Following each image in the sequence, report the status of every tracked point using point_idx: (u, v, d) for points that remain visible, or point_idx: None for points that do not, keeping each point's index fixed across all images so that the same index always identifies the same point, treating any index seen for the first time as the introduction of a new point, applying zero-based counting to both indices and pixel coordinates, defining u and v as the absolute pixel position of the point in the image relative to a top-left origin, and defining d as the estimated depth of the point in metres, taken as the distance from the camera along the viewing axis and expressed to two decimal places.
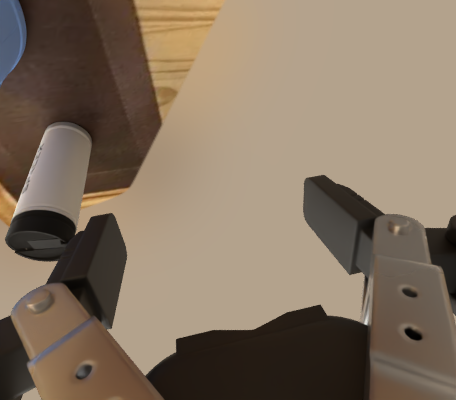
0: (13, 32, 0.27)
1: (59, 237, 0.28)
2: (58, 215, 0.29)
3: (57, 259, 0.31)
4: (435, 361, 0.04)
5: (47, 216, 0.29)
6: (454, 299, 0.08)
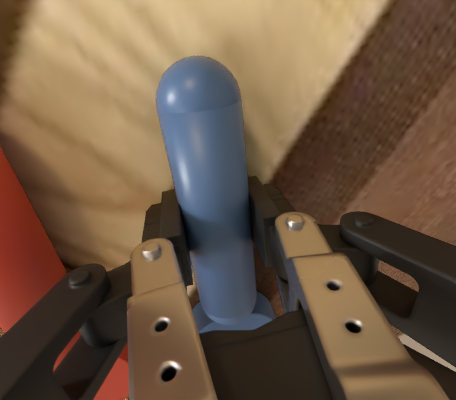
0: None
1: None
2: None
3: None
4: (380, 347, 0.04)
5: None
6: None
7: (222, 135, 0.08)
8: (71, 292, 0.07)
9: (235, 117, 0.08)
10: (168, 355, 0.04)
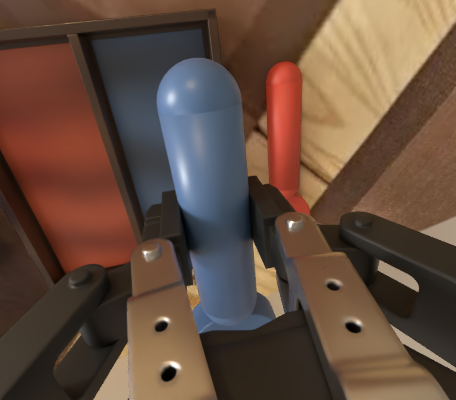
0: None
1: None
2: None
3: None
4: (379, 346, 0.04)
5: None
6: None
7: (223, 137, 0.08)
8: (71, 292, 0.07)
9: (235, 119, 0.09)
10: (168, 355, 0.04)
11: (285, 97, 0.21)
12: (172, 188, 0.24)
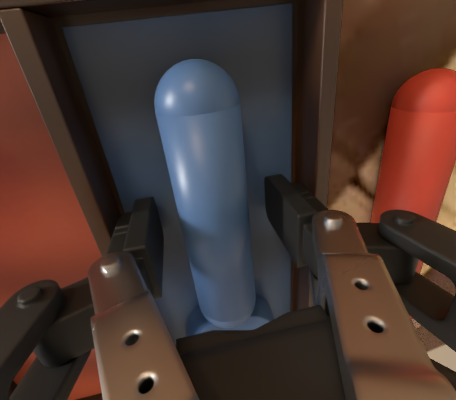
0: None
1: None
2: None
3: None
4: (400, 350, 0.04)
5: None
6: None
7: (221, 138, 0.08)
8: (21, 312, 0.06)
9: (234, 120, 0.08)
10: (143, 367, 0.04)
11: (442, 137, 0.11)
12: None
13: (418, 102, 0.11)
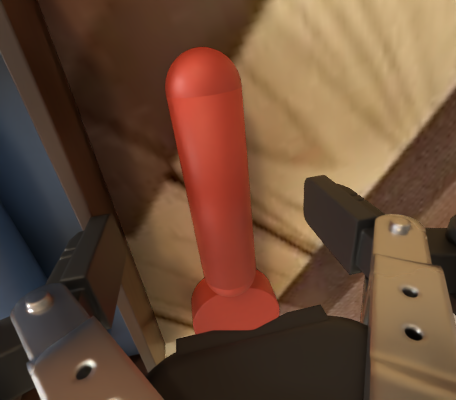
0: None
1: None
2: None
3: None
4: (435, 361, 0.04)
5: None
6: (454, 299, 0.08)
7: None
8: None
9: None
10: (103, 396, 0.04)
11: (201, 127, 0.09)
12: None
13: (170, 86, 0.09)
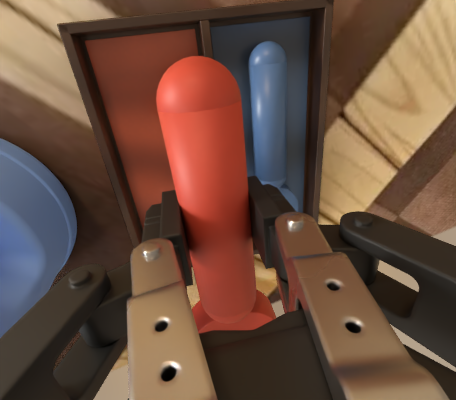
0: None
1: None
2: None
3: None
4: (379, 346, 0.04)
5: None
6: None
7: (279, 75, 0.19)
8: (71, 292, 0.07)
9: (285, 68, 0.19)
10: (168, 355, 0.04)
11: (196, 145, 0.08)
12: None
13: (161, 99, 0.08)
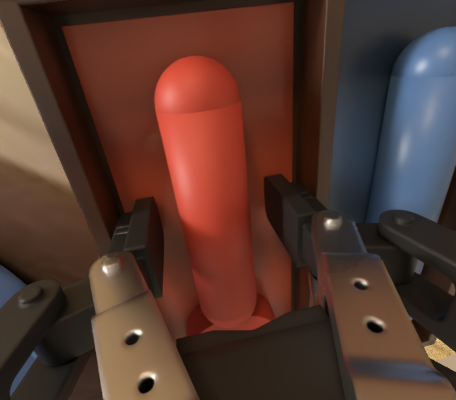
0: None
1: None
2: None
3: None
4: (399, 349, 0.04)
5: None
6: None
7: None
8: (23, 311, 0.06)
9: None
10: (143, 366, 0.04)
11: (194, 146, 0.08)
12: None
13: (159, 100, 0.08)
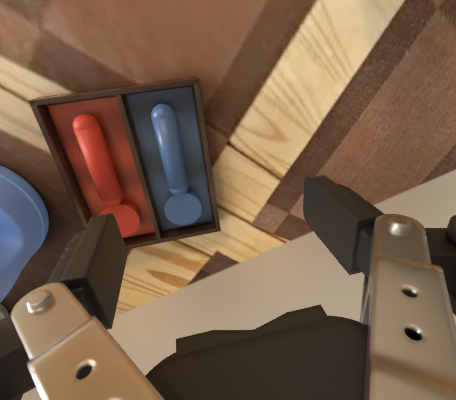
0: None
1: None
2: None
3: None
4: (435, 361, 0.04)
5: None
6: (454, 299, 0.08)
7: (168, 125, 0.31)
8: None
9: (172, 120, 0.31)
10: (103, 396, 0.04)
11: (83, 139, 0.30)
12: None
13: (73, 126, 0.30)
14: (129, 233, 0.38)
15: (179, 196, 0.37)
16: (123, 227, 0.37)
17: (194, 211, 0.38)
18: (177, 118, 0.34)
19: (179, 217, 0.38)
